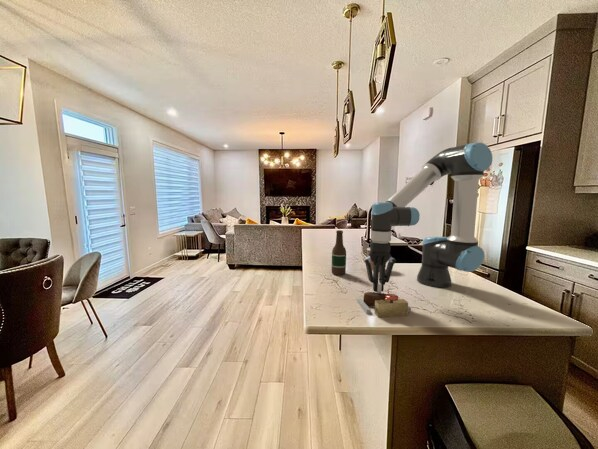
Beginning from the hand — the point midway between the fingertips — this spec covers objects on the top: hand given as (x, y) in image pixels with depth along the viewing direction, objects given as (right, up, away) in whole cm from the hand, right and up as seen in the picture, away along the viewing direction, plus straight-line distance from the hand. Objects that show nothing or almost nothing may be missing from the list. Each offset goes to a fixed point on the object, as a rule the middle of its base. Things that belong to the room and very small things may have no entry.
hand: (377, 298), depth 101 cm
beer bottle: (-10, +3, +37) cm, 39 cm away
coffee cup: (+13, +3, +47) cm, 49 cm away
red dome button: (+1, -2, -11) cm, 11 cm away
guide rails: (+1, -2, -4) cm, 5 cm away
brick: (-1, -2, -3) cm, 4 cm away
